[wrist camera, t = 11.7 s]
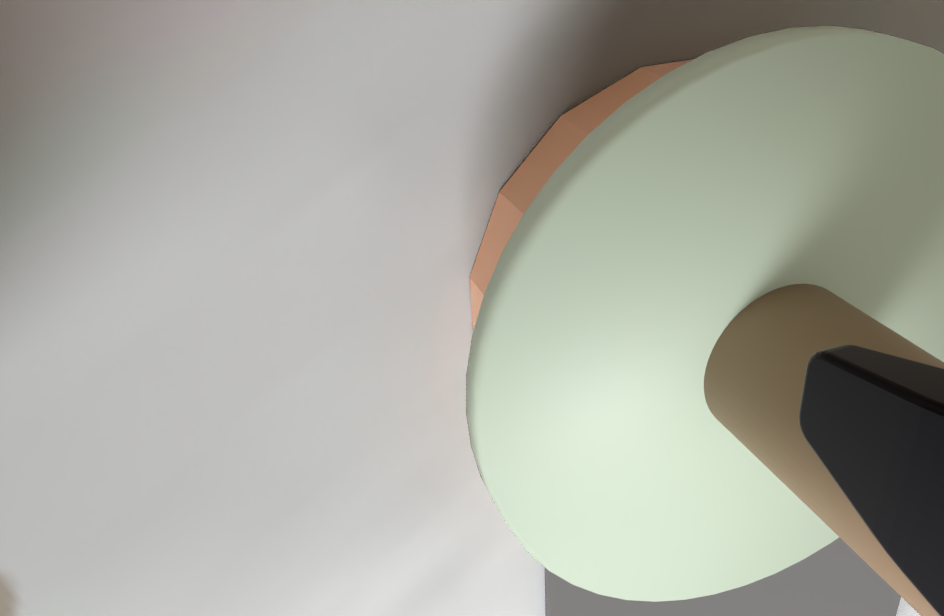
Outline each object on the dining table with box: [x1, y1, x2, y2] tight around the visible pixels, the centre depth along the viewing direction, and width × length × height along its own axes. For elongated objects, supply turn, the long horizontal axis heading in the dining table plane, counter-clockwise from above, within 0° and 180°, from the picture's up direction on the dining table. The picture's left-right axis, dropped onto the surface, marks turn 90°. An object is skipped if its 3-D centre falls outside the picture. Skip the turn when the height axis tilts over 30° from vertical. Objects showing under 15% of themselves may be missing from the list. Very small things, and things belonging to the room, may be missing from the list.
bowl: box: [470, 59, 694, 331], centre depth 23 cm, size 12×12×4 cm
